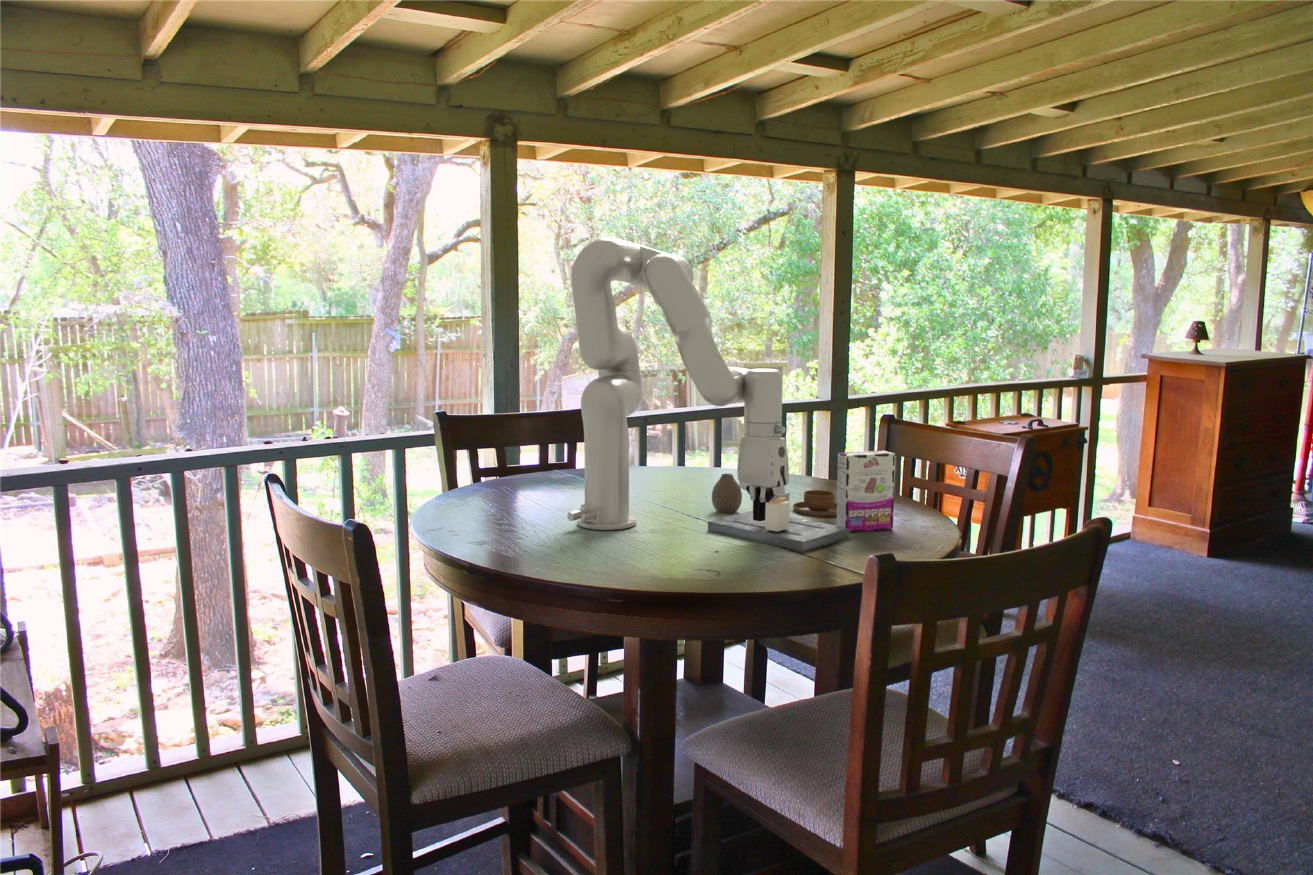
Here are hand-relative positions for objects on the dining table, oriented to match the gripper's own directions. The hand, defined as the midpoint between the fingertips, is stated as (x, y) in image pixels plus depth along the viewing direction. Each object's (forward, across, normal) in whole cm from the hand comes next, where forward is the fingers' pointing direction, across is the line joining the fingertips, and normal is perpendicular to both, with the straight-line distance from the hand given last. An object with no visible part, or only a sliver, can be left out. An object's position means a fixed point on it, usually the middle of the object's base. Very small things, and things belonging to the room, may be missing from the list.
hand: (760, 519), depth 185 cm
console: (+4, -1, -4) cm, 5 cm away
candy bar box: (+4, -11, -21) cm, 24 cm away
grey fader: (+1, +2, -8) cm, 8 cm away
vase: (+4, +20, -13) cm, 24 cm away
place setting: (+4, +9, -30) cm, 32 cm away
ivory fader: (+1, -4, 0) cm, 4 cm away
